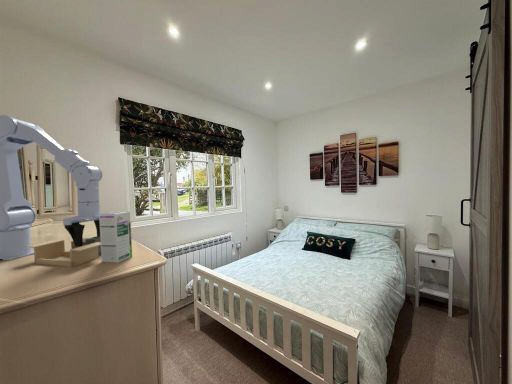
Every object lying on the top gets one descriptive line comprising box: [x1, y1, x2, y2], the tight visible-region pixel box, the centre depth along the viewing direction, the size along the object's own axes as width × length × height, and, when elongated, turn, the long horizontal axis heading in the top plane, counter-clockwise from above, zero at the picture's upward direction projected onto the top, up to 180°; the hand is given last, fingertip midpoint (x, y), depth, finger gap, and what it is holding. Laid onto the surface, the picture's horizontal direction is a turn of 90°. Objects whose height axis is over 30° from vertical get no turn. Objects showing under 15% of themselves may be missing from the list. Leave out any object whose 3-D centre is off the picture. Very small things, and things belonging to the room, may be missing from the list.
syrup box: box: [99, 210, 133, 264], centre depth 66 cm, size 6×6×14 cm
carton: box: [26, 239, 101, 268], centre depth 66 cm, size 20×8×5 cm, turn 76°
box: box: [70, 235, 101, 256], centre depth 72 cm, size 10×4×6 cm, turn 77°
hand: (90, 242), depth 72 cm, fingers open, 7 cm apart
